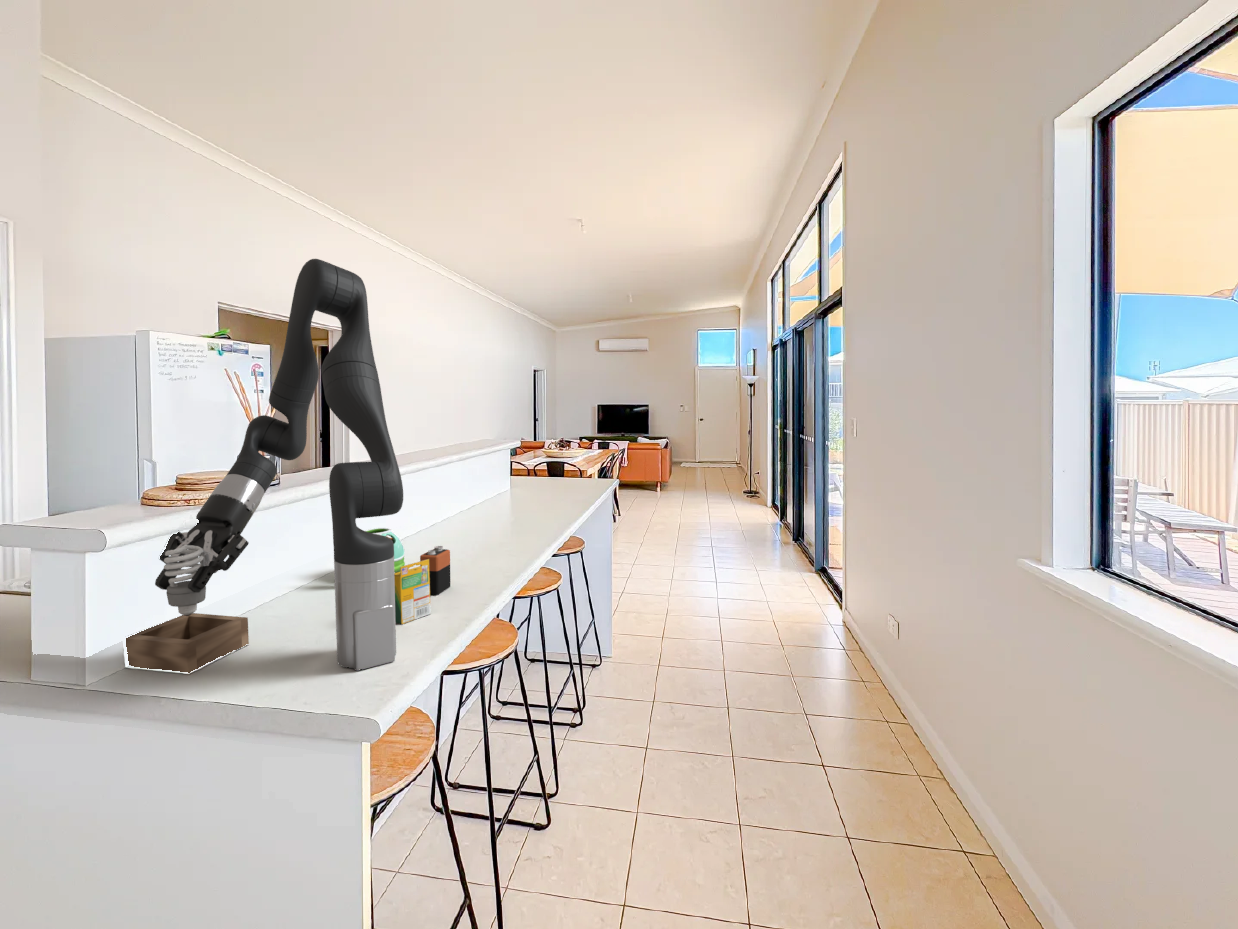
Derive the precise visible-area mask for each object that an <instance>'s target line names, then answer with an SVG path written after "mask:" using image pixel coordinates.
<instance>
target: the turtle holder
mask: <svg viewBox="0 0 1238 929" xmlns="http://www.w3.org/2000/svg"><path fill="white" fill-rule="evenodd" d="M364 531H366V532H369V533H373V534H378V535H382V536H386V537H388V538H390V539H391V540H392V541H393V543H394V573H398V572H400V567H401V566H405V565H406V562H405V555H406V552H405V547H404V544H403V542H402V540H401V539H400V536H398V535H397V534H396V533H395V532H394V531H393V530H392V528H389V527H388V528H386V527H376V528H370V529H366V530H364Z"/></svg>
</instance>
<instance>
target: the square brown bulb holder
mask: <svg viewBox="0 0 1238 929" xmlns="http://www.w3.org/2000/svg"><path fill="white" fill-rule="evenodd" d="M161 623H162V624H161ZM161 623H158V624H159V625H158V624H156V626H155V625H153V626H154V627H153V626H150V627H151V628H150V627H147V628H148V629H147V628H145V629H146V630H145V629H143V630H144V631H142V630H140V631H141V632H140V631H138V632H139V633H137V632H136V633H137V634H135V635H132V634H131V635H132V636H130V637H128V638H126V647H127V652H128V653H127V654H128V661H129V665H131V666H134V667H140V668H147V669H148V668H149V669H162V670H172V671H180V672H188V673H190V672H191V671H193V670H195V669H198V668H199V667H201V666H203V665H205V664H206V663H208V662H211V661H213V660H215V659H216V658H218V657H220V656H224V655H226V654H227V653H229V652H232V651H233V650H237V649H239V648H241V647H243V646H245V645H246V644H249V645H250V642H249V640H250V639H249V638H250V636H249V619H248V617H247V616H246V617H245V616H234V615H222V614H221V615H219V614H210V613H209V614H208V613H198V612H197V613H196V612H194V613H192V614H191V615H189V616H185V615H182V614H181V615H179V616H177V618H176V617H175V618H171V619H169V621H168V620H166V621H164V623H163V622H161Z"/></svg>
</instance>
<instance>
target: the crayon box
mask: <svg viewBox="0 0 1238 929" xmlns="http://www.w3.org/2000/svg"><path fill="white" fill-rule="evenodd" d="M420 565H421V566H420ZM414 566H416V567H414ZM394 579H395V621H396V624H397V625H398V624H399V625H404V624H406V623H409V622H412V621H415V620H417V619H421V618H423V617H426V616H430V615H431V614H432V611H431V608H432V607H431V595H430V577H429V559H427V560H424V561H420V560H419V561H416V562H413V563H408V564H405V565H404V566H401V567H400V572H398V573H394Z"/></svg>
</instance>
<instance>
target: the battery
mask: <svg viewBox="0 0 1238 929" xmlns="http://www.w3.org/2000/svg"><path fill="white" fill-rule="evenodd" d="M427 559H429V577H430V596H438V595H440V594H441V593H443V592H445V591H446V590H448V589H449V588H451V550H449V549H446V548H445V549H444V546H443V545H437V546H436V545H435V546H434V547H433V549H431V550H428V551H427V552H425V553H423V554H421V555H420V556H419V562H420V561H424V560H427ZM419 566H421V565H419ZM444 590H445V591H444Z"/></svg>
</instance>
